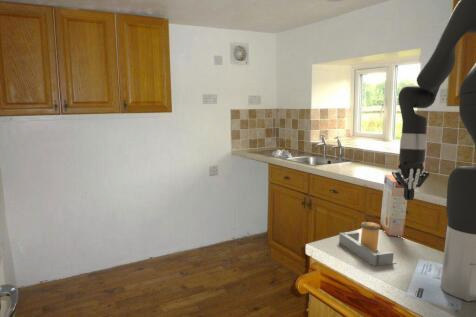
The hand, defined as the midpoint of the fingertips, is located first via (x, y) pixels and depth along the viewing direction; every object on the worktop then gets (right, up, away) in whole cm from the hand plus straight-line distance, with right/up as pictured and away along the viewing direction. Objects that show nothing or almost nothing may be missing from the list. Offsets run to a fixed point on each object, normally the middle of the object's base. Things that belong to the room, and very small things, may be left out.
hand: (408, 199), depth 113 cm
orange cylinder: (-13, -17, 0) cm, 22 cm away
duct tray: (-14, -17, -1) cm, 22 cm away
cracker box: (+3, -15, +20) cm, 25 cm away
